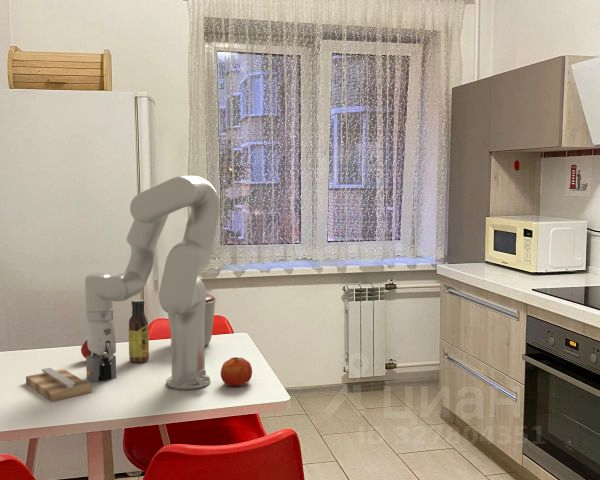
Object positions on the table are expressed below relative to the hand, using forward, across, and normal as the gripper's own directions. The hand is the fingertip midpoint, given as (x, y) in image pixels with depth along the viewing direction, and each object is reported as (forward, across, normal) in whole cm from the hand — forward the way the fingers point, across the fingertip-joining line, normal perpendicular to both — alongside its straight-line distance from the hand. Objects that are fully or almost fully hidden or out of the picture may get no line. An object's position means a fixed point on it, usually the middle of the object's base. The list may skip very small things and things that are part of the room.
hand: (101, 375), depth 193 cm
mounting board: (+1, 0, +13) cm, 13 cm away
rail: (-1, 0, +13) cm, 13 cm away
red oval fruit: (+1, +19, -5) cm, 20 cm away
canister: (+1, +14, -40) cm, 42 cm away
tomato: (+1, -31, -27) cm, 41 cm away
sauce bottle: (+1, +9, -17) cm, 19 cm away
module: (+1, 0, 0) cm, 1 cm away
